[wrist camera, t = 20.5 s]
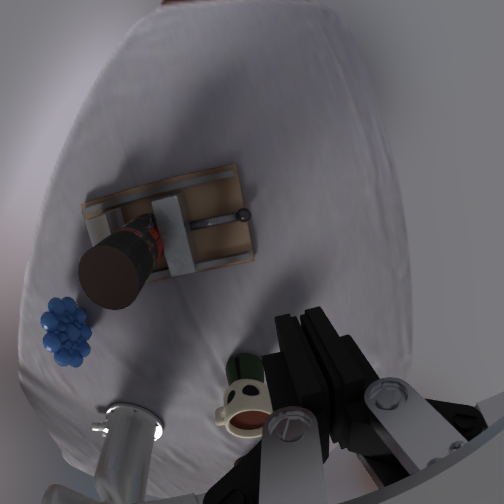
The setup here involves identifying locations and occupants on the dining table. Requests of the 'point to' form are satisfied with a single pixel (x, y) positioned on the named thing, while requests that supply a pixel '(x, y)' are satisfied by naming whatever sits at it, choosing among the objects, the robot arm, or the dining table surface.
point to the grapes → (66, 332)
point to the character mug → (245, 398)
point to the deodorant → (121, 263)
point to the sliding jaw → (184, 231)
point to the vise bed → (199, 207)
